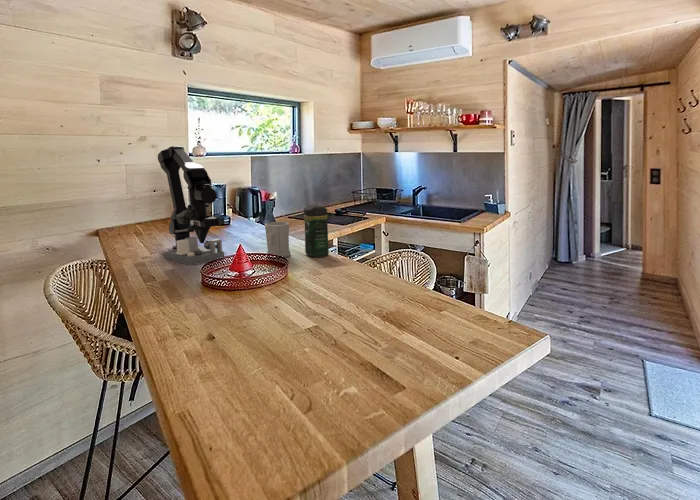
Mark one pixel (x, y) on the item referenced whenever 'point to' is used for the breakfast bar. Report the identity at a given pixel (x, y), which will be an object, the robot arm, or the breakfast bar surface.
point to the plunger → (208, 245)
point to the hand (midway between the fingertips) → (201, 243)
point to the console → (198, 254)
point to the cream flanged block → (182, 247)
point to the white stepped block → (193, 244)
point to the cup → (278, 238)
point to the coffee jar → (316, 231)
